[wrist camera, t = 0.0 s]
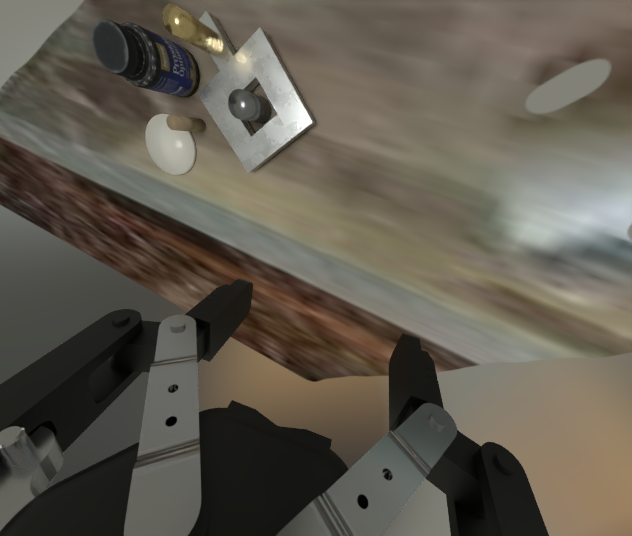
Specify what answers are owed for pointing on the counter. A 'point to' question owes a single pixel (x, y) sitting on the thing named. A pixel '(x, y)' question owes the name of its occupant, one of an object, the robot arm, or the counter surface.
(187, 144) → the coaster
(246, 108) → the post
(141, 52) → the pill bottle
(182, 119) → the dowel
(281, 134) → the grey plate with post
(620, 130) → the counter surface
